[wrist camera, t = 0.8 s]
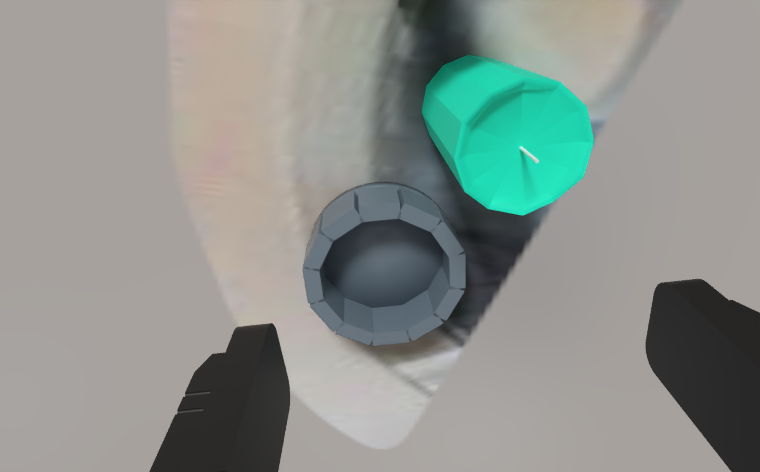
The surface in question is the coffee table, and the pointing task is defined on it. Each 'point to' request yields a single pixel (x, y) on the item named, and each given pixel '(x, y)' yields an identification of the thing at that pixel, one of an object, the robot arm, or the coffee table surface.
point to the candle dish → (383, 264)
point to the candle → (507, 133)
